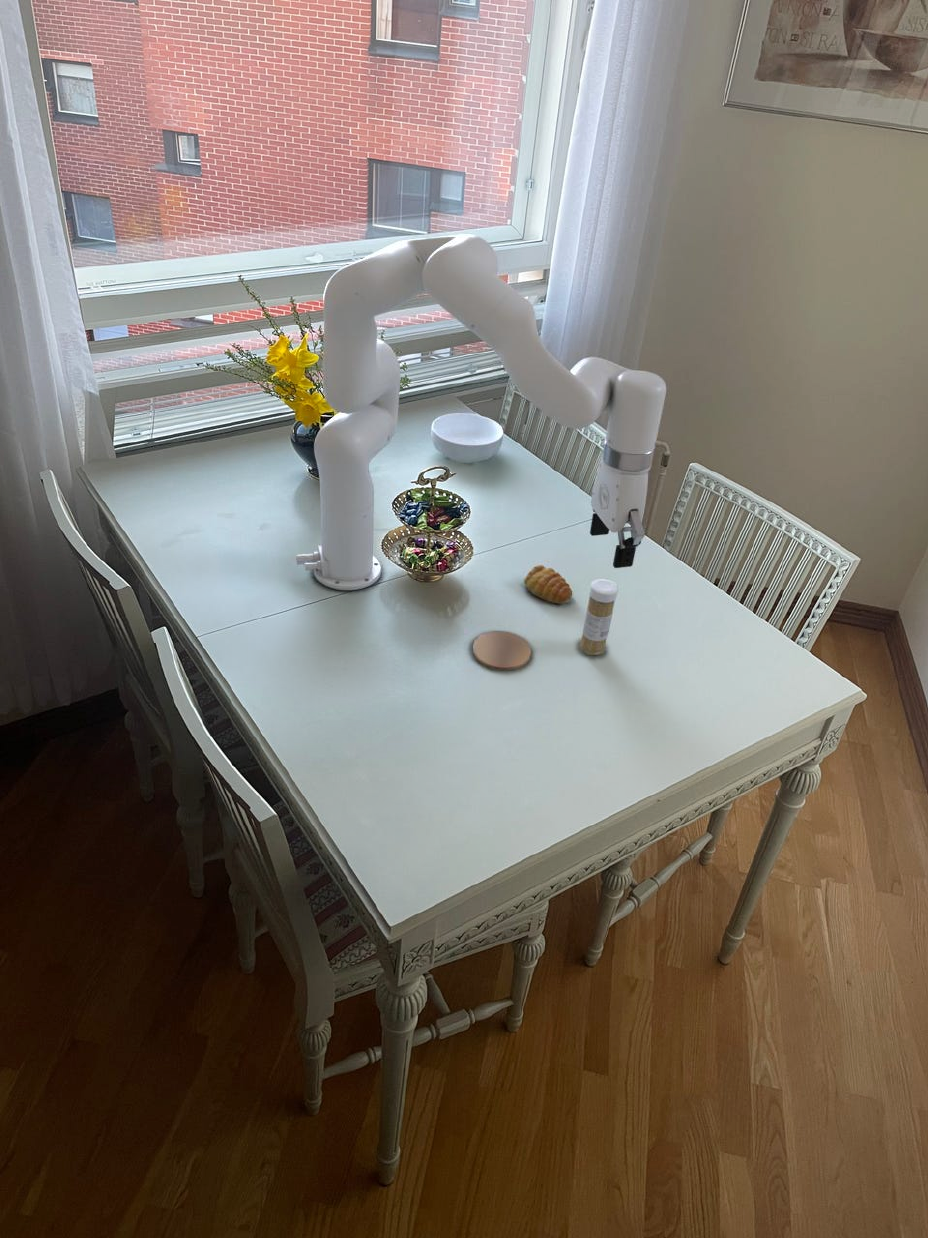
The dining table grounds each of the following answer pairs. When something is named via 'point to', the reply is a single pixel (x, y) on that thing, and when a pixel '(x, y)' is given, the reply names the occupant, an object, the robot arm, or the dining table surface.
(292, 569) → the dining table surface
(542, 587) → the pastry
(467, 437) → the cereal bowl
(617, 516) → the robot arm
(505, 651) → the copper coaster
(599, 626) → the sprinkles bottle
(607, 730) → the dining table surface
